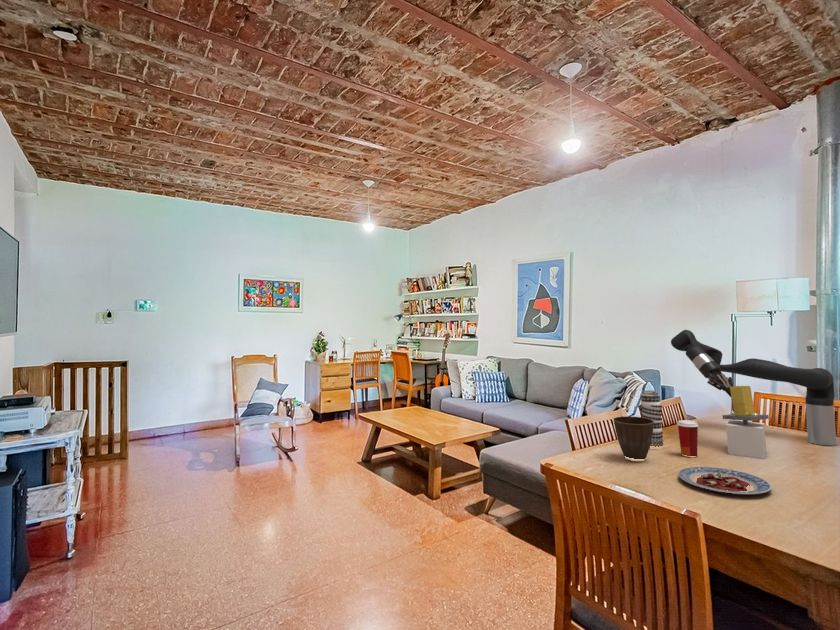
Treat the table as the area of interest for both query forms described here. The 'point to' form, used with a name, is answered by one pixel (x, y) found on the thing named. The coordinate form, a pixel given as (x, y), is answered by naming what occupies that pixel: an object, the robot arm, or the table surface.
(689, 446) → the paper cup
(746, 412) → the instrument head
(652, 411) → the grey striped cylinder
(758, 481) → the ceramic plate
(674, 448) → the table surface
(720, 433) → the table surface
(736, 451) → the stand
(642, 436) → the plant pot
